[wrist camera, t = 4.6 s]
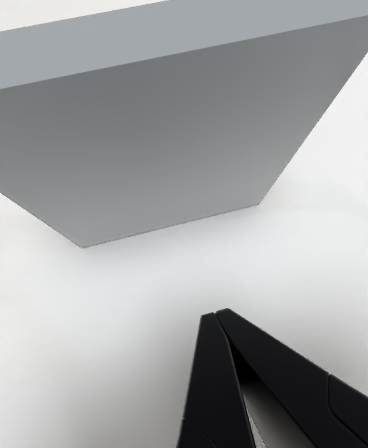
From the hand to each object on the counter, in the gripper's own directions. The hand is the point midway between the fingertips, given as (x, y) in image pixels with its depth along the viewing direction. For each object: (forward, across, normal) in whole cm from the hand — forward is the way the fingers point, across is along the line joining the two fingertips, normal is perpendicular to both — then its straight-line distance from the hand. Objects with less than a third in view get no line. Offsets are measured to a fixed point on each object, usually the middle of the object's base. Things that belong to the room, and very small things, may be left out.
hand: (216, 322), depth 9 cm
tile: (+12, 0, -3) cm, 12 cm away
